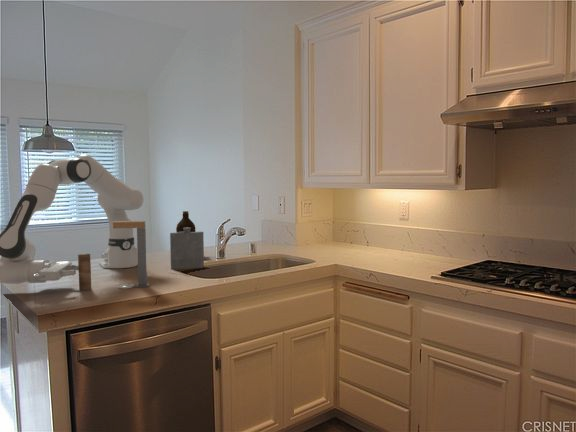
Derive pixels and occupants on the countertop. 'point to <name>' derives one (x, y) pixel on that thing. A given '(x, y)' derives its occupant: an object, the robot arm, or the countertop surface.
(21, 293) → the countertop surface
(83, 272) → the brown tall wooden block
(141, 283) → the keeper
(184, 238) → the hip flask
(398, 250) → the countertop surface
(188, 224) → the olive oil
